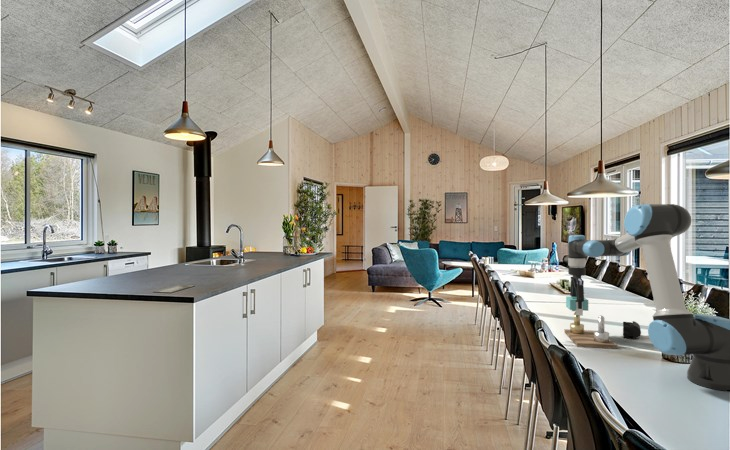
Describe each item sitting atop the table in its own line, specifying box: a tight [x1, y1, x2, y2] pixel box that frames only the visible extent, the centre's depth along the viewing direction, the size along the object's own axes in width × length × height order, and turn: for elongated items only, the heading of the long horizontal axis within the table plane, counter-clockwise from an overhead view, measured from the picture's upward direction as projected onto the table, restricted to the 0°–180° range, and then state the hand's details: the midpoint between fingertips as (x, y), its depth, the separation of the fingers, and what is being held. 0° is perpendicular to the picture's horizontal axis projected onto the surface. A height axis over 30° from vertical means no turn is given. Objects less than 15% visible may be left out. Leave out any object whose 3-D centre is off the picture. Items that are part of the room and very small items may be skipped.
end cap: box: [622, 320, 642, 340], centre depth 201 cm, size 10×7×7 cm
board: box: [563, 328, 618, 350], centre depth 197 cm, size 24×16×2 cm, turn 167°
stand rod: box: [593, 315, 610, 343], centre depth 190 cm, size 6×6×12 cm
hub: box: [569, 311, 585, 334], centre depth 204 cm, size 6×6×10 cm
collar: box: [565, 296, 589, 311], centre depth 204 cm, size 8×8×5 cm
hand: (576, 313), depth 204 cm, fingers closed on collar, 8 cm apart
